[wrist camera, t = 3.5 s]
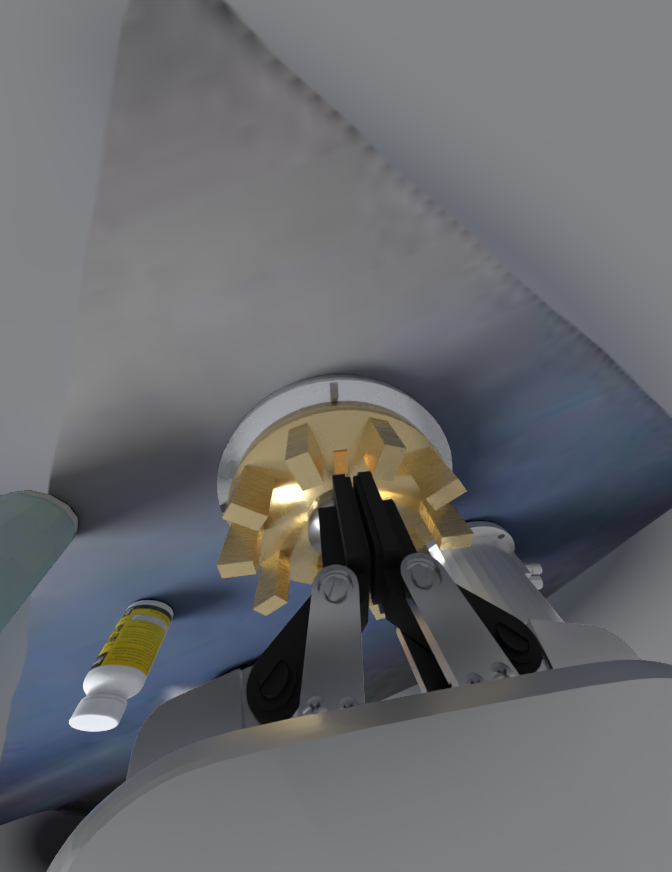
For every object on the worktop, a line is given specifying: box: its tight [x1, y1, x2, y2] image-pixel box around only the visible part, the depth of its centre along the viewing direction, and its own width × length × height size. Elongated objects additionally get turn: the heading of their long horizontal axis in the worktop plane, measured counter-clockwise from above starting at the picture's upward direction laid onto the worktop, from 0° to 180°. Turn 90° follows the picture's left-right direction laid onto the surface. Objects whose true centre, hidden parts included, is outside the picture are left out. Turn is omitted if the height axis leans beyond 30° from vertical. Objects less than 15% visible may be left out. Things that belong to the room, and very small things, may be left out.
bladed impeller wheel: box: [217, 401, 474, 620], centre depth 21 cm, size 19×19×6 cm
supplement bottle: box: [69, 600, 173, 731], centre depth 28 cm, size 5×5×10 cm
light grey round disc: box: [217, 374, 452, 524], centre depth 25 cm, size 22×22×2 cm
